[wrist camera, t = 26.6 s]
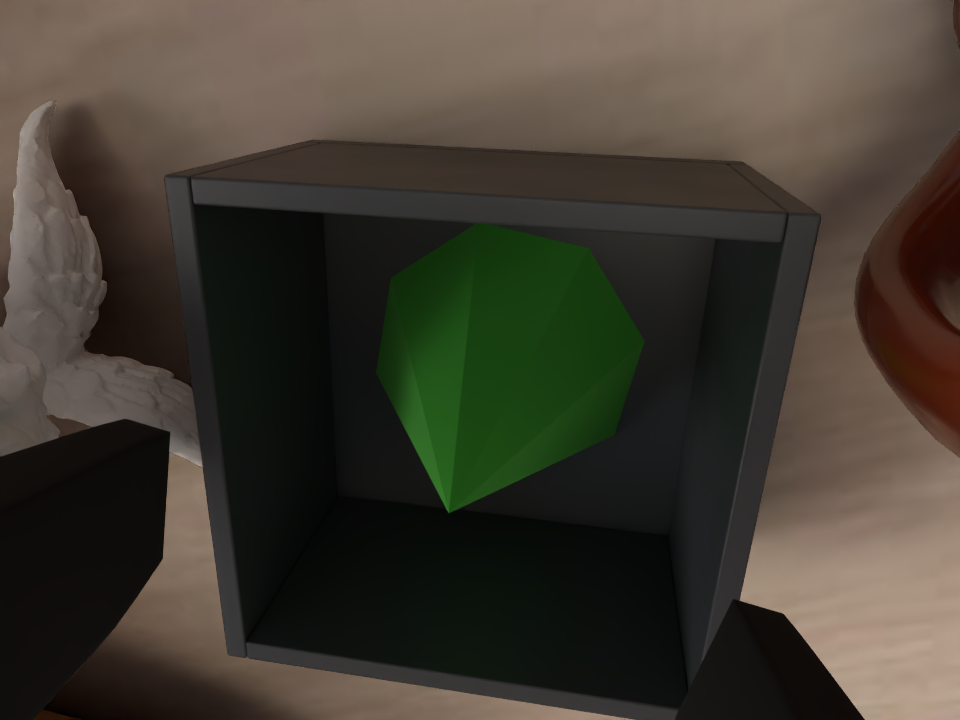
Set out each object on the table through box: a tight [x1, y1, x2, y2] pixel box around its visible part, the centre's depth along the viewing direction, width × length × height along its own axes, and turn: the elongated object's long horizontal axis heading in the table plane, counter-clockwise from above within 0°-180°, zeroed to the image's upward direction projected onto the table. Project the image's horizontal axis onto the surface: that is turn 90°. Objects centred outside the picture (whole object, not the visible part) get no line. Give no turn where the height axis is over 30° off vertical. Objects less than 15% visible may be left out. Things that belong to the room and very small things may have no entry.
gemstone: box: [376, 223, 644, 513], centre depth 13 cm, size 6×6×6 cm
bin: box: [164, 140, 821, 720], centre depth 14 cm, size 9×9×6 cm
